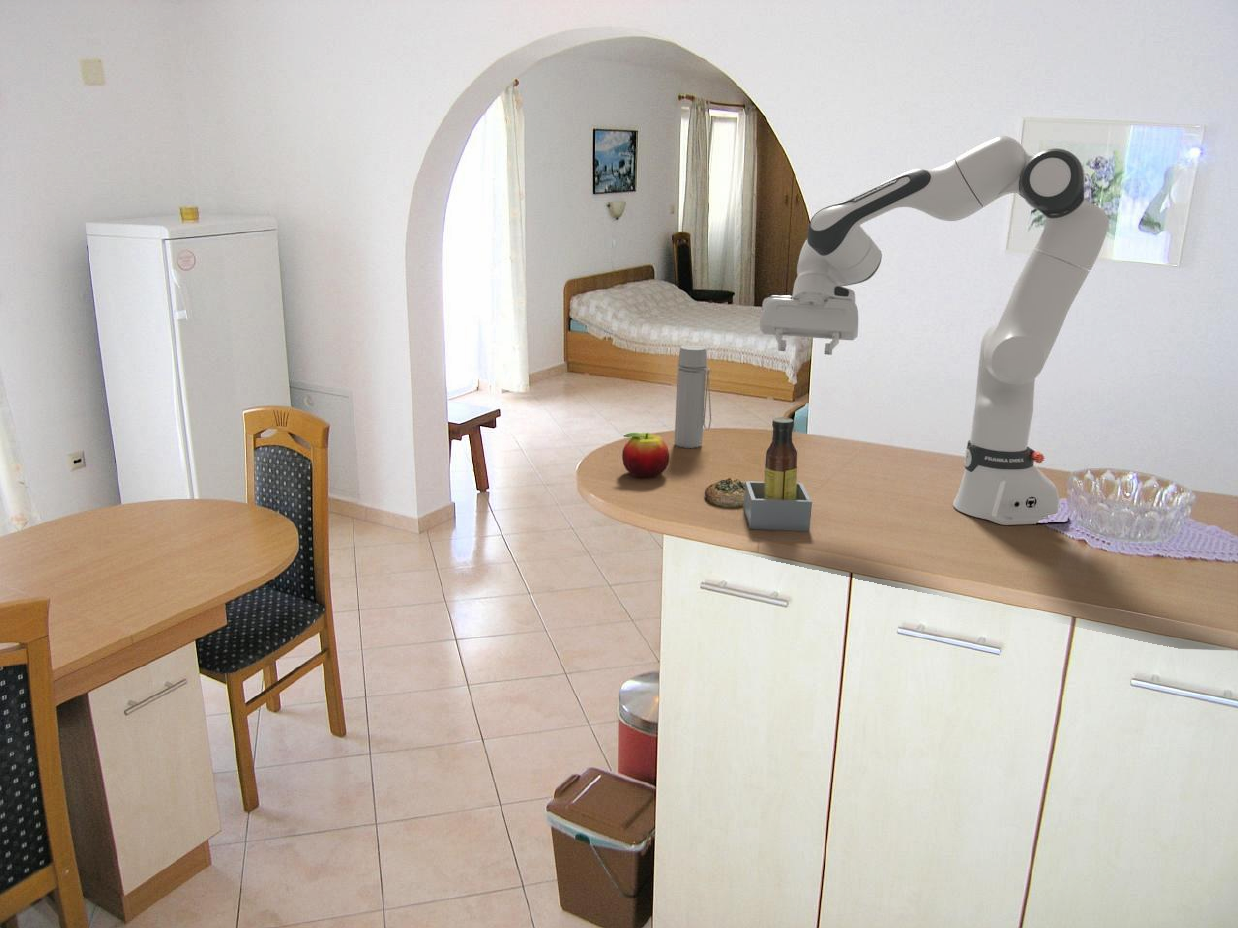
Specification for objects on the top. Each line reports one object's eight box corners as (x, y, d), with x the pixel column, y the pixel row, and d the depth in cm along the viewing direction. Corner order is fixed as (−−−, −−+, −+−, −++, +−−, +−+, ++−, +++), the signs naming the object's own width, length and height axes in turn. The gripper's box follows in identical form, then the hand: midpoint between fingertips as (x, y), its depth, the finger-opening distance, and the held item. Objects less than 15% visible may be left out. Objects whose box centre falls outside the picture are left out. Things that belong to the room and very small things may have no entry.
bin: (799, 510, 196) (802, 482, 194) (809, 530, 185) (812, 501, 183) (743, 508, 196) (745, 481, 194) (749, 529, 185) (751, 499, 183)
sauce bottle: (791, 511, 192) (799, 416, 187) (797, 522, 186) (805, 424, 181) (759, 510, 192) (766, 415, 187) (763, 521, 186) (771, 423, 181)
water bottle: (669, 447, 238) (673, 348, 231) (679, 439, 245) (684, 343, 238) (704, 452, 235) (710, 352, 228) (713, 444, 242) (719, 347, 235)
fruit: (673, 481, 212) (674, 438, 209) (625, 482, 211) (626, 439, 208) (663, 467, 222) (665, 425, 220) (617, 468, 221) (618, 426, 218)
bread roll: (711, 487, 209) (715, 466, 207) (760, 501, 205) (764, 480, 204) (696, 504, 199) (700, 482, 197) (746, 519, 196) (751, 497, 194)
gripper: (763, 285, 202) (753, 338, 196) (862, 291, 197) (855, 346, 191) (764, 304, 207) (755, 356, 201) (861, 310, 202) (854, 364, 196)
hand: (804, 351), depth 196 cm, fingers open, 8 cm apart
